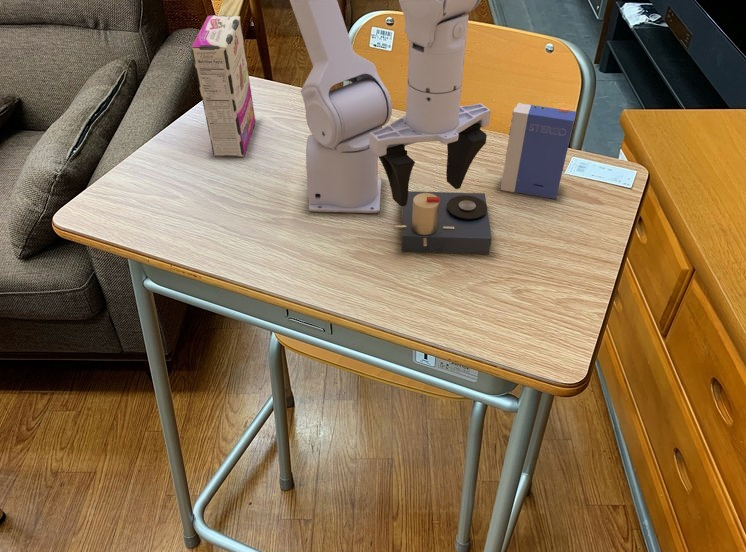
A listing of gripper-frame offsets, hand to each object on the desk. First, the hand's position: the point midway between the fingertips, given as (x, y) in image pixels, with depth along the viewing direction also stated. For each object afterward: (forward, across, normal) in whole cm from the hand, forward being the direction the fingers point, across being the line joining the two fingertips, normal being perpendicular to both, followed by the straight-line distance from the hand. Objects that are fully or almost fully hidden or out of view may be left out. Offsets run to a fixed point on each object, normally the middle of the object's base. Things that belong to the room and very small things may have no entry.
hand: (427, 193), depth 79 cm
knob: (+5, 0, 0) cm, 5 cm away
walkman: (+8, +20, +3) cm, 22 cm away
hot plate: (+7, +3, +1) cm, 8 cm away
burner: (+5, +7, +1) cm, 9 cm away
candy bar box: (+8, -12, +36) cm, 39 cm away
